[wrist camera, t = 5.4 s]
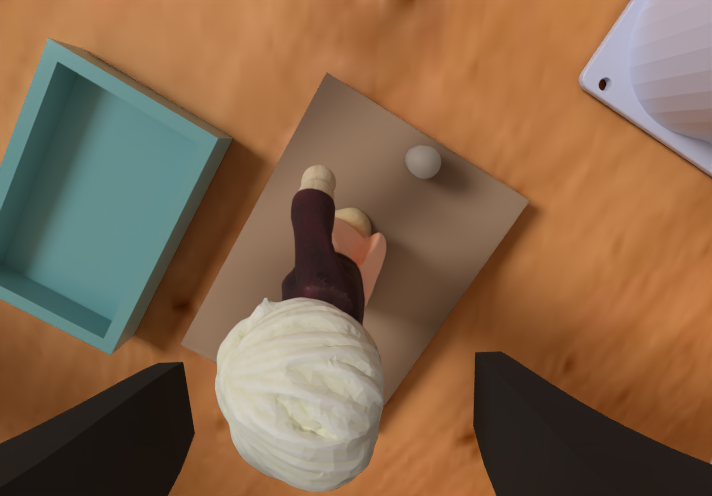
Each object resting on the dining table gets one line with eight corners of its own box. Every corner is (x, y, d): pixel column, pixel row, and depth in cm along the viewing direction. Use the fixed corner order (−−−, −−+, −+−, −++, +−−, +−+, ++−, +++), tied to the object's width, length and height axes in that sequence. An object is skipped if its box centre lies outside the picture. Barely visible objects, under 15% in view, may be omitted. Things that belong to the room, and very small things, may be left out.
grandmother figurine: (401, 316, 20) (464, 611, 7) (320, 332, 20) (251, 642, 8) (366, 148, 18) (369, 171, 6) (277, 168, 18) (94, 233, 6)
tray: (233, 138, 19) (218, 138, 17) (133, 335, 22) (110, 355, 20) (81, 48, 18) (48, 37, 16) (-4, 264, 21) (-41, 278, 19)
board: (520, 196, 19) (549, 208, 16) (361, 423, 23) (360, 469, 19) (329, 76, 18) (321, 64, 15) (190, 333, 21) (160, 366, 18)
